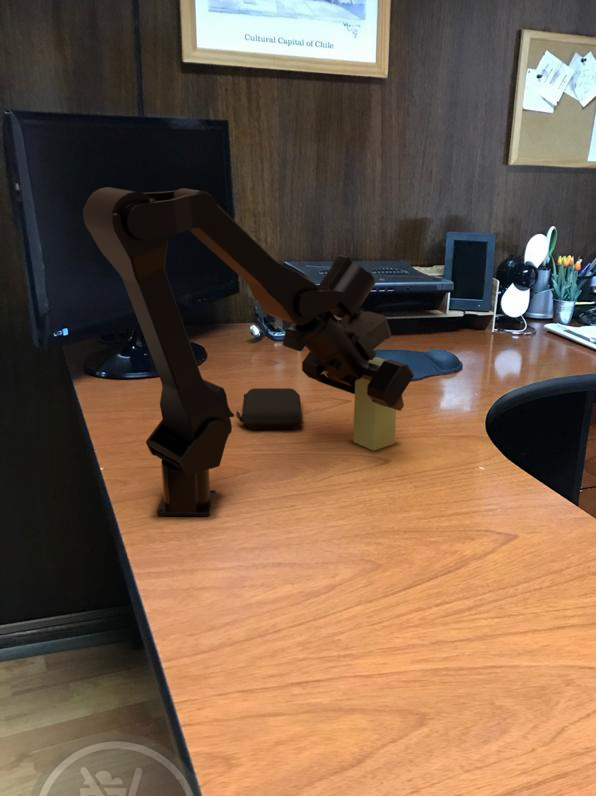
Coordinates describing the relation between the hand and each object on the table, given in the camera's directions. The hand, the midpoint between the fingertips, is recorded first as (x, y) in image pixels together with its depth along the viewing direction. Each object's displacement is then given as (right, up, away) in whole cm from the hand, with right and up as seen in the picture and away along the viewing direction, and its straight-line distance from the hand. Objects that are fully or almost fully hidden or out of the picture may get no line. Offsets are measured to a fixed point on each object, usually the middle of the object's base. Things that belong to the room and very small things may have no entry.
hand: (381, 400), depth 119 cm
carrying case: (-19, -2, +10) cm, 22 cm away
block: (-1, -7, +2) cm, 7 cm away
